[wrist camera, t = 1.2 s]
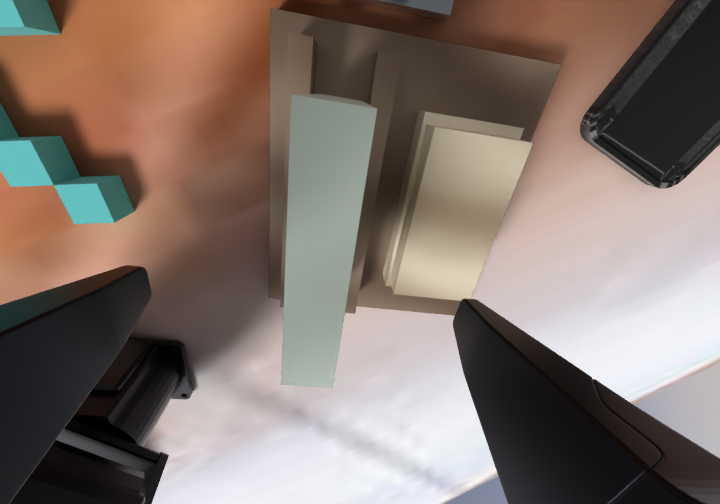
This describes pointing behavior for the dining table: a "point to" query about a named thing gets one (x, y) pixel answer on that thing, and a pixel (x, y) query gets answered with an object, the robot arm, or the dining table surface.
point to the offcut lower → (412, 161)
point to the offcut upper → (455, 210)
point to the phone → (664, 98)
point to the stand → (415, 6)
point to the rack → (386, 122)
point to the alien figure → (53, 141)
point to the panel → (321, 229)
